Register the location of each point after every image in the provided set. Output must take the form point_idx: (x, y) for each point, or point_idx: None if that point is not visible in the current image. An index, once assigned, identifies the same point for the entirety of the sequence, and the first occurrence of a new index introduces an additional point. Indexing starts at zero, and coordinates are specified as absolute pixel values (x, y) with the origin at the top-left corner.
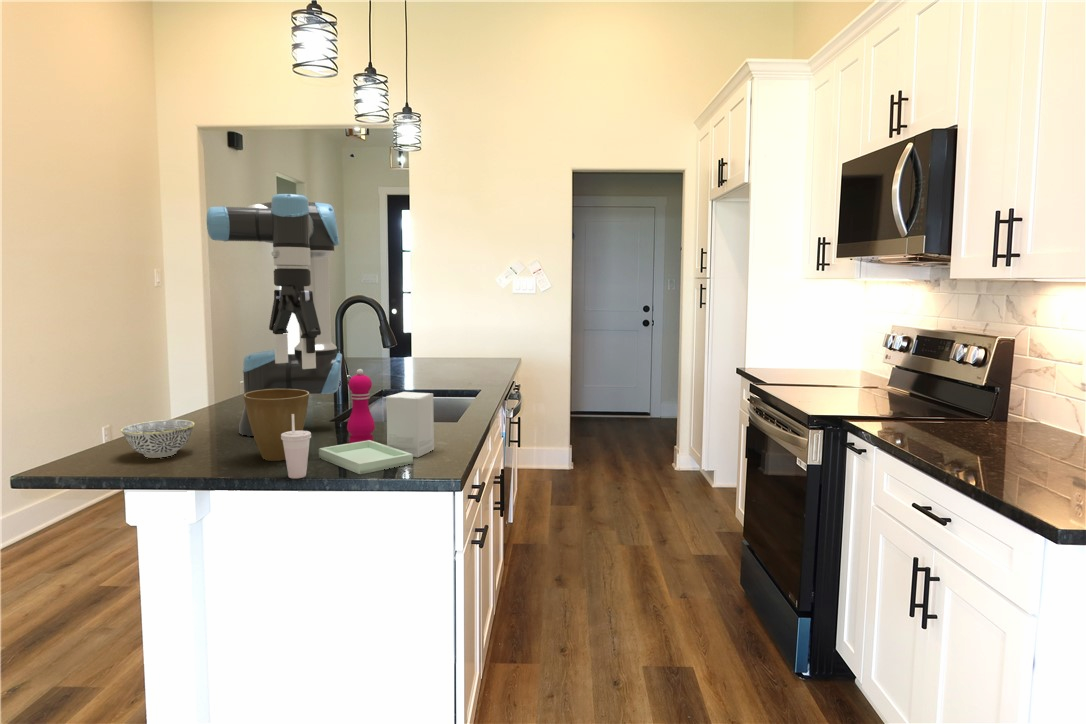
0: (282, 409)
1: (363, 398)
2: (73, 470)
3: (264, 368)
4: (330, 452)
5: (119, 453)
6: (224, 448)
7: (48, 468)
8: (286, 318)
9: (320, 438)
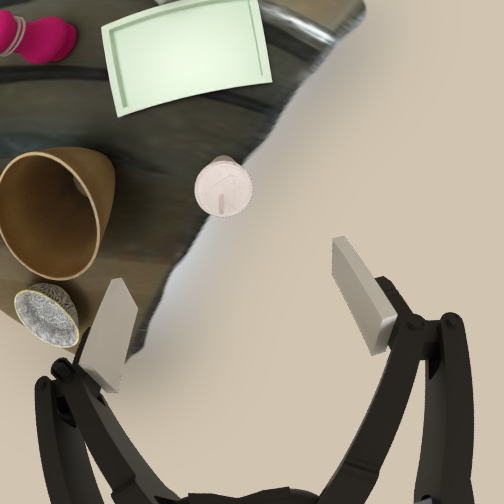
0: (104, 209)
1: (24, 28)
2: None
3: None
4: (158, 102)
5: None
6: None
7: None
8: (122, 446)
9: (11, 107)
